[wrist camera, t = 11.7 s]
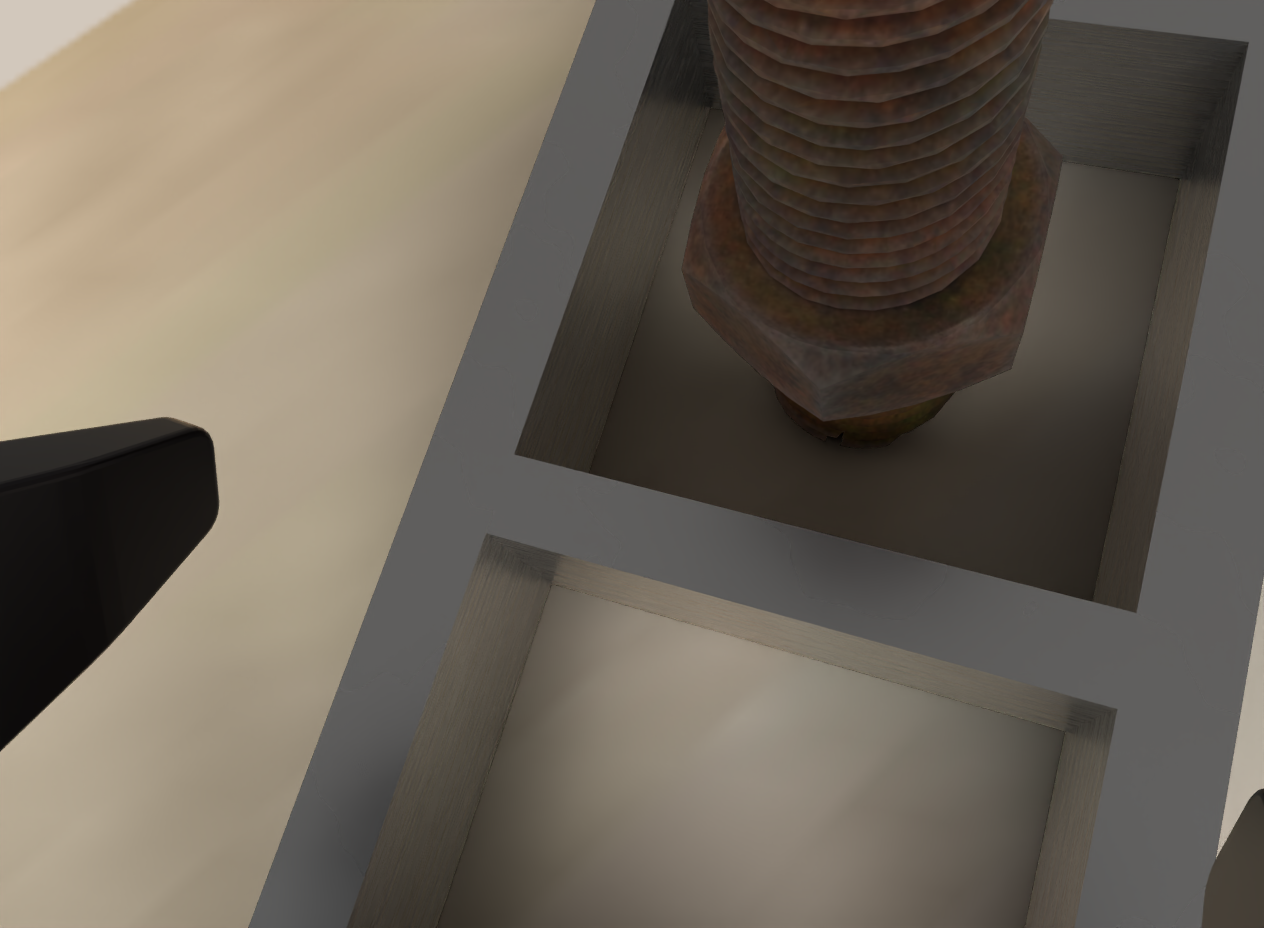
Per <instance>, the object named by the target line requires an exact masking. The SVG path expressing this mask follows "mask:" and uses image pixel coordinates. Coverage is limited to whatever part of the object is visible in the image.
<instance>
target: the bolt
mask: <svg viewBox="0 0 1264 928" xmlns="http://www.w3.org/2000/svg"><path fill="white" fill-rule="evenodd" d="M1053 1H1054V0H707V2H708V26H709V35H710V44H711V49H712V51H713V54H714V55H713V65H714V70H715V73H716V76H717V78H718V85H719V94H720V98H721V101H722V110H723V114H724V119H725V126H724V127H723V129H722V131H721V133H720V135H719V137H718V140H717V142H716V145H715V147H714V150H713V153H712V155H711V158H710V160H709V163H708V166H707V168H706V171H705V173H704V177H703V181H702V184H701V188H700V192H699V195H698V199H697V203H696V207H695V210H694V214H693V218H692V222H691V227H690V231H689V236H688V241H687V246H686V251H685V256H684V261H683V265H682V272H683V275H684V279H685V282H686V285H687V288H688V292H689V295H690V298H691V302H692V305H693V308H694V309H695V310H696V311H697V312H698V313H699V314H700V315H701V316H702V317H703V318H704V319H705V320H706V322H707V323H708V324H709V325H710V326H711V327H712V328H713V329H714V330H715V331H716V332H717V333H718V334H719V335H720V336H721V337H722V338H723V340H724V341H725V342H726V343H727V344H728V345H730V346H731V347H732V348H733V349H734V350H735V351H736V352H737V353H738V354H739V355H740V356H741V357H742V358H743V359H744V360H745V361H747V362H748V363H749V364H750V365H751V366H752V367H753V368H754V369H755V370H756V371H757V372H758V373H760V374H761V375H762V376H763V377H764V378H766V379H767V380H768V381H769V382H770V383H772V384H773V386H774V389H775V392H776V395H777V398H778V400H779V402H780V404H781V405H782V407H783V409H784V410H785V412H786V413H787V414H788V415H789V416H790V417H791V418H792V419H793V420H794V421H795V423H796V424H797V425H799V426H800V427H802V428H803V429H804V430H806V431H807V432H808V433H810V434H811V435H813V436H815V437H817V438H819V439H822V440H824V441H826V437H827V436H832V437H835V438H837V437H838V436H839V435H840V434H841V433H842V432H844V434H843V437H842V439H843V441H842V443H841V444H840V446H845V447H852V448H877V447H883V446H887V445H889V444H890V443H891V442H892V441H894V440H895V439H896V438H898V437H899V436H900V435H902V434H905V433H907V432H910V431H912V430H914V429H916V428H917V427H919V426H920V425H922V424H924V423H925V422H927V421H928V420H930V419H932V418H933V417H934V416H935V415H936V414H937V413H938V412H939V411H940V409H941V408H942V407H943V406H944V405H945V403H946V402H947V401H948V400H949V399H950V398H951V396H952V395H953V394H954V393H955V392H956V391H959V390H962V389H964V388H967V387H969V386H971V385H974V384H976V383H979V382H981V381H983V380H986V379H988V378H991V377H993V376H995V375H998V374H1000V373H1003V372H1005V371H1007V370H1010V369H1011V367H1012V364H1013V361H1014V358H1015V355H1016V352H1017V349H1018V346H1019V344H1020V341H1021V338H1022V335H1023V331H1024V327H1025V323H1026V319H1027V315H1028V311H1029V307H1030V303H1031V299H1032V295H1033V291H1034V288H1035V284H1036V280H1037V275H1038V271H1039V266H1040V262H1041V258H1042V253H1043V249H1044V244H1045V240H1046V236H1047V231H1048V227H1049V222H1050V218H1051V213H1052V209H1053V204H1054V200H1055V196H1056V191H1057V186H1058V181H1059V175H1060V170H1061V164H1062V158H1063V156H1062V155H1061V154H1060V153H1059V152H1058V151H1057V150H1056V148H1055V147H1054V146H1053V145H1052V144H1051V143H1050V142H1049V141H1048V140H1047V139H1046V138H1045V137H1044V136H1043V135H1042V133H1041V132H1040V131H1039V130H1038V129H1037V128H1036V127H1035V126H1034V125H1033V124H1032V123H1031V122H1030V121H1029V120H1028V119H1027V118H1026V117H1025V114H1026V110H1027V107H1028V104H1029V100H1030V97H1031V92H1032V91H1031V90H1032V86H1033V83H1034V79H1035V76H1036V71H1037V67H1038V62H1039V58H1040V54H1041V50H1042V41H1043V38H1044V35H1045V33H1046V30H1047V26H1048V22H1049V13H1050V7H1051V6H1052V4H1053Z"/></svg>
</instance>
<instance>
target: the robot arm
mask: <svg viewBox="0 0 1264 928" xmlns="http://www.w3.org/2000/svg"><path fill="white" fill-rule="evenodd" d="M218 510H219V495H218V484H217V474H216V463H215V452H214V445H213V441H212V439H211V437H210V435H209V433H208V432H207V431H206V430H204V429H203V428H201V427H198V426H196V425H193V424H190V423H187V422H184V421H181V420H178V419H174V418H169V417H161V418H154V419H147V420H141V421H134V422H127V423H121V424H114V425H107V426H101V427H94V428H87V429H80V430H74V431H67V432H60V433H54V434H47V435H40V436H34V437H27V438H20V439H14V440H7V441H0V751H1V750H2V749H4V748H5V747H6V746H7V745H8V744H9V743H10V742H11V741H12V740H13V739H14V738H15V737H16V736H17V735H18V734H19V733H20V732H21V731H22V730H23V729H24V728H25V727H26V726H28V725H29V724H30V723H31V722H32V721H33V720H34V719H35V718H36V717H37V716H38V715H39V714H40V713H41V712H42V711H43V710H44V709H45V708H46V707H47V706H48V705H49V704H51V703H52V702H53V701H54V700H55V699H56V698H57V697H58V696H59V695H60V694H61V693H62V692H63V691H64V690H65V689H66V688H67V687H68V686H69V685H70V684H71V683H72V682H73V681H75V680H76V679H77V678H78V677H79V676H80V675H81V674H82V673H83V672H84V671H85V670H86V669H87V668H88V667H89V666H90V665H91V664H92V663H93V662H94V661H95V660H96V659H97V658H98V657H99V656H100V655H101V654H102V653H103V652H104V651H105V650H106V649H107V648H108V647H109V646H110V645H111V644H112V643H113V642H114V641H115V639H116V638H117V637H118V636H119V635H120V634H121V633H122V632H123V631H124V630H125V628H126V627H127V626H128V625H129V624H130V623H131V622H132V620H133V619H134V618H135V617H136V616H137V615H138V613H139V612H140V611H141V610H142V609H143V608H144V606H145V605H146V604H147V603H148V602H149V601H150V599H151V598H152V597H153V596H154V595H155V594H156V593H157V591H158V590H159V589H160V588H161V587H162V586H163V584H164V583H165V582H166V581H167V580H168V579H169V577H170V576H171V575H172V574H173V573H174V572H175V571H176V569H177V568H178V567H179V566H180V565H181V564H182V562H183V561H184V560H185V559H186V558H187V557H188V555H189V554H190V553H191V552H192V551H193V550H194V548H195V547H196V546H197V545H198V544H199V543H200V542H201V540H202V539H203V538H204V537H205V536H206V535H207V533H208V532H209V531H210V529H211V528H212V526H213V524H214V523H215V521H216V518H217V515H218ZM1202 928H1264V789H1261V790H1258V791H1257V792H1256V793H1255V794H1254V795H1253V796H1252V797H1251V798H1250V799H1249V801H1248V802H1247V804H1246V806H1245V808H1244V810H1243V811H1242V813H1241V815H1240V817H1239V819H1238V820H1237V822H1236V824H1235V826H1234V828H1233V829H1232V831H1231V833H1230V835H1229V837H1228V838H1227V840H1226V842H1225V844H1224V846H1223V847H1222V849H1221V851H1220V853H1219V855H1218V856H1217V858H1216V860H1215V862H1214V864H1213V866H1212V868H1211V871H1210V874H1209V877H1208V880H1207V884H1206V889H1205V895H1204V904H1203V916H1202Z"/></svg>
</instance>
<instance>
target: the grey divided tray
mask: <svg viewBox="0 0 1264 928" xmlns="http://www.w3.org/2000/svg"><path fill="white" fill-rule="evenodd" d="M713 55H714V54H713V51H712V49H711V44H710V35H709V26H708V2H707V0H596V2H595V5H594V7H593V10H592V13H591V15H590V18H589V21H588V23H587V26H586V29H585V31H584V34H583V37H582V39H581V42H580V45H579V47H578V50H577V53H576V55H575V58H574V61H573V63H572V66H571V69H570V71H569V74H568V77H567V79H566V82H565V85H564V87H563V90H562V93H561V95H560V98H559V101H558V103H557V106H556V109H555V111H554V114H553V117H552V119H551V122H550V125H549V127H548V130H547V133H546V135H545V138H544V141H543V143H542V146H541V149H540V151H539V154H538V157H537V159H536V162H535V165H534V167H533V170H532V173H531V175H530V178H529V181H528V183H527V186H526V189H525V191H524V194H523V197H522V199H521V202H520V205H519V207H518V210H517V213H516V215H515V218H514V221H513V223H512V226H511V229H510V231H509V234H508V237H507V239H506V242H505V245H504V247H503V250H502V253H501V255H500V258H499V261H498V263H497V266H496V269H495V271H494V274H493V277H492V279H491V282H490V285H489V287H488V290H487V293H486V295H485V298H484V301H483V303H482V306H481V309H480V311H479V314H478V317H477V319H476V322H475V325H474V327H473V330H472V333H471V335H470V338H469V341H468V343H467V346H466V349H465V351H464V354H463V357H462V359H461V362H460V365H459V367H458V370H457V373H456V375H455V378H454V381H453V383H452V386H451V389H450V391H449V394H448V397H447V399H446V402H445V405H444V407H443V410H442V413H441V415H440V418H439V421H438V423H437V426H436V429H435V431H434V434H433V437H432V439H431V442H430V445H429V447H428V450H427V453H426V455H425V458H424V461H423V463H422V466H421V469H420V471H419V474H418V477H417V479H416V482H415V485H414V487H413V490H412V493H411V495H410V498H409V501H408V503H407V506H406V509H405V511H404V514H403V517H402V519H401V522H400V525H399V527H398V530H397V533H396V535H395V538H394V541H393V543H392V546H391V549H390V551H389V554H388V557H387V559H386V562H385V565H384V567H383V570H382V573H381V575H380V578H379V581H378V583H377V586H376V589H375V591H374V594H373V597H372V599H371V602H370V605H369V607H368V610H367V613H366V615H365V618H364V621H363V623H362V626H361V629H360V631H359V634H358V637H357V639H356V642H355V645H354V647H353V650H352V653H351V655H350V658H349V661H348V663H347V666H346V669H345V671H344V674H343V677H342V679H341V682H340V685H339V687H338V690H337V693H336V695H335V698H334V701H333V703H332V706H331V709H330V711H329V714H328V717H327V719H326V722H325V725H324V727H323V730H322V733H321V735H320V738H319V740H318V743H317V746H316V748H315V751H314V754H313V756H312V759H311V762H310V764H309V767H308V770H307V772H306V775H305V778H304V780H303V783H302V786H301V788H300V791H299V794H298V796H297V799H296V802H295V804H294V807H293V810H292V812H291V815H290V818H289V820H288V823H287V826H286V828H285V831H284V834H283V836H282V839H281V842H280V844H279V847H278V850H277V852H276V855H275V858H274V860H273V863H272V866H271V868H270V871H269V874H268V876H267V879H266V882H265V884H264V887H263V890H262V892H261V895H260V898H259V900H258V903H257V906H256V908H255V911H254V914H253V916H252V919H251V922H250V924H249V927H248V928H437V925H438V922H439V919H440V916H441V913H442V910H443V907H444V904H445V901H446V898H447V895H448V892H449V889H450V886H451V883H452V880H453V877H454V874H455V871H456V868H457V865H458V862H459V859H460V856H461V853H462V850H463V847H464V844H465V841H466V838H467V835H468V832H469V829H470V826H471V823H472V820H473V817H474V814H475V811H476V808H477V805H478V802H479V799H480V796H481V793H482V790H483V787H484V784H485V781H486V778H487V775H488V772H489V769H490V766H491V763H492V760H493V757H494V754H495V751H496V748H497V745H498V742H499V739H500V737H501V734H502V731H503V728H504V725H505V722H506V719H507V716H508V713H509V710H510V707H511V704H512V701H513V698H514V695H515V692H516V689H517V686H518V683H519V680H520V677H521V674H522V671H523V668H524V665H525V662H526V659H527V656H528V653H529V650H530V647H531V644H532V641H533V638H534V635H535V632H536V629H537V626H538V623H539V620H540V617H541V614H542V611H543V608H544V605H545V602H546V599H547V596H548V593H549V590H550V587H551V584H554V585H558V586H561V587H565V588H568V589H572V590H575V591H578V592H582V593H585V594H589V595H592V596H596V597H599V598H603V599H606V600H610V601H613V602H617V603H620V604H624V605H627V606H631V607H634V608H638V609H641V610H645V611H648V612H652V613H655V614H658V615H662V616H665V617H669V618H672V619H676V620H679V621H683V622H686V623H690V624H693V625H697V626H700V627H704V628H707V629H711V630H714V631H718V632H721V633H725V634H728V635H732V636H735V637H738V638H742V639H745V640H749V641H752V642H756V643H759V644H763V645H766V646H770V647H773V648H777V649H780V650H784V651H787V652H791V653H794V654H798V655H801V656H805V657H808V658H812V659H815V660H818V661H822V662H825V663H829V664H832V665H836V666H839V667H843V668H846V669H850V670H853V671H857V672H860V673H864V674H867V675H871V676H874V677H878V678H881V679H885V680H888V681H892V682H895V683H898V684H902V685H905V686H909V687H912V688H916V689H919V690H923V691H926V692H930V693H933V694H937V695H940V696H944V697H947V698H951V699H954V700H958V701H961V702H965V703H968V704H972V705H975V706H978V707H982V708H985V709H989V710H992V711H996V712H999V713H1003V714H1006V715H1010V716H1013V717H1017V718H1020V719H1024V720H1027V721H1031V722H1034V723H1038V724H1041V725H1045V726H1048V727H1052V728H1055V729H1058V730H1062V731H1065V736H1064V741H1063V746H1062V750H1061V755H1060V760H1059V765H1058V770H1057V774H1056V779H1055V784H1054V789H1053V794H1052V798H1051V803H1050V808H1049V813H1048V818H1047V823H1046V827H1045V832H1044V837H1043V842H1042V847H1041V851H1040V856H1039V861H1038V866H1037V871H1036V876H1035V880H1034V885H1033V890H1032V895H1031V900H1030V904H1029V909H1028V914H1027V919H1026V924H1025V928H1202V916H1203V904H1204V895H1205V889H1206V884H1207V880H1208V877H1209V874H1210V871H1211V868H1212V866H1213V864H1214V862H1215V860H1216V855H1217V849H1218V843H1219V837H1220V831H1221V825H1222V819H1223V814H1224V808H1225V802H1226V796H1227V790H1228V784H1229V778H1230V772H1231V766H1232V760H1233V754H1234V748H1235V743H1236V737H1237V731H1238V725H1239V719H1240V713H1241V707H1242V701H1243V695H1244V689H1245V683H1246V677H1247V672H1248V666H1249V660H1250V654H1251V648H1252V642H1253V636H1254V630H1255V624H1256V618H1257V612H1258V606H1259V601H1260V595H1261V589H1262V583H1263V577H1264V0H1054V1H1053V4H1052V6H1051V7H1050V13H1049V22H1048V26H1047V30H1046V33H1045V35H1044V38H1043V41H1042V50H1041V54H1040V58H1039V62H1038V67H1037V71H1036V76H1035V79H1034V83H1033V86H1032V90H1031V91H1032V92H1031V97H1030V100H1029V104H1028V107H1027V110H1026V114H1025V117H1026V118H1027V119H1028V120H1029V121H1030V122H1031V123H1032V124H1033V125H1034V126H1035V127H1036V128H1037V129H1038V130H1039V131H1040V132H1041V133H1042V135H1043V136H1044V137H1045V138H1046V139H1047V140H1048V141H1049V142H1050V143H1051V144H1052V145H1053V146H1054V147H1055V148H1056V150H1057V151H1058V152H1059V153H1060V154H1061V155H1062V156H1063V158H1062V161H1065V162H1072V163H1078V164H1085V165H1092V166H1098V167H1105V168H1111V169H1118V170H1125V171H1131V172H1138V173H1144V174H1151V175H1158V176H1164V177H1171V178H1177V179H1180V182H1179V187H1178V192H1177V197H1176V202H1175V206H1174V211H1173V216H1172V221H1171V226H1170V230H1169V235H1168V240H1167V245H1166V250H1165V254H1164V259H1163V264H1162V269H1161V274H1160V279H1159V283H1158V288H1157V293H1156V298H1155V303H1154V307H1153V312H1152V317H1151V322H1150V327H1149V332H1148V336H1147V341H1146V346H1145V351H1144V356H1143V360H1142V365H1141V370H1140V375H1139V380H1138V384H1137V389H1136V394H1135V399H1134V404H1133V409H1132V413H1131V418H1130V423H1129V428H1128V433H1127V437H1126V442H1125V447H1124V452H1123V457H1122V461H1121V466H1120V471H1119V476H1118V481H1117V486H1116V490H1115V495H1114V500H1113V505H1112V510H1111V514H1110V519H1109V524H1108V529H1107V534H1106V539H1105V543H1104V548H1103V553H1102V558H1101V563H1100V567H1099V572H1098V577H1097V582H1096V587H1095V591H1094V596H1093V601H1092V602H1091V601H1087V600H1083V599H1079V598H1075V597H1072V596H1068V595H1064V594H1060V593H1056V592H1052V591H1048V590H1044V589H1040V588H1036V587H1032V586H1028V585H1024V584H1021V583H1017V582H1013V581H1009V580H1005V579H1001V578H997V577H993V576H989V575H985V574H981V573H977V572H973V571H970V570H966V569H962V568H958V567H954V566H950V565H946V564H942V563H938V562H934V561H930V560H926V559H922V558H919V557H915V556H911V555H907V554H903V553H899V552H895V551H891V550H887V549H883V548H879V547H875V546H871V545H868V544H864V543H860V542H856V541H852V540H848V539H844V538H840V537H836V536H832V535H828V534H824V533H820V532H817V531H813V530H809V529H805V528H801V527H797V526H793V525H789V524H785V523H781V522H777V521H773V520H769V519H766V518H762V517H758V516H754V515H750V514H746V513H742V512H738V511H734V510H730V509H726V508H722V507H718V506H715V505H711V504H707V503H703V502H699V501H695V500H691V499H687V498H683V497H679V496H675V495H671V494H667V493H664V492H660V491H656V490H652V489H648V488H644V487H640V486H636V485H632V484H628V483H624V482H620V481H616V480H613V479H609V478H605V477H601V476H597V475H593V474H589V470H590V467H591V464H592V461H593V458H594V455H595V453H596V450H597V447H598V444H599V441H600V438H601V435H602V432H603V429H604V426H605V423H606V420H607V417H608V414H609V411H610V408H611V405H612V402H613V399H614V396H615V393H616V390H617V387H618V384H619V381H620V378H621V375H622V372H623V369H624V366H625V363H626V360H627V357H628V354H629V351H630V348H631V345H632V342H633V339H634V336H635V333H636V330H637V327H638V324H639V321H640V318H641V315H642V312H643V309H644V306H645V303H646V300H647V297H648V294H649V291H650V288H651V285H652V282H653V279H654V276H655V273H656V270H657V267H658V264H659V261H660V258H661V255H662V252H663V249H664V246H665V243H666V240H667V237H668V234H669V231H670V228H671V225H672V222H673V219H674V216H675V213H676V210H677V207H678V204H679V201H680V198H681V195H682V192H683V189H684V186H685V183H686V180H687V177H688V174H689V172H690V169H691V166H692V163H693V160H694V157H695V154H696V151H697V148H698V145H699V142H700V139H701V136H702V133H703V130H704V127H705V124H706V121H707V118H708V115H709V112H710V109H711V108H715V109H722V101H721V98H720V94H719V85H718V78H717V76H716V73H715V70H714V65H713Z"/></svg>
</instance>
